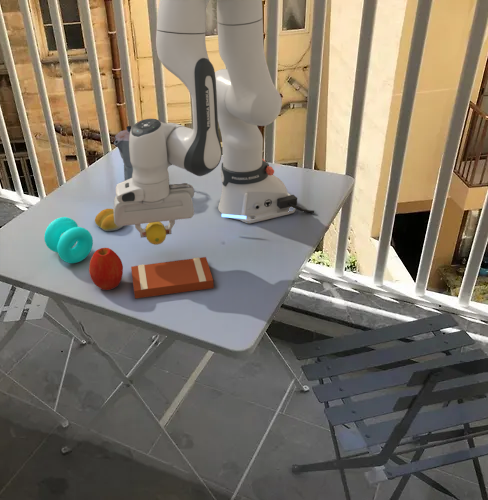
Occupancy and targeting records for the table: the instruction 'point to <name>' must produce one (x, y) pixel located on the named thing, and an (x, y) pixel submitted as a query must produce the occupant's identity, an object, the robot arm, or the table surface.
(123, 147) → the moka pot
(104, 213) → the bread roll
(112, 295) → the table surface
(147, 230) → the lemon
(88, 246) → the donuts
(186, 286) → the tea towel
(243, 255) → the table surface
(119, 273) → the apple
